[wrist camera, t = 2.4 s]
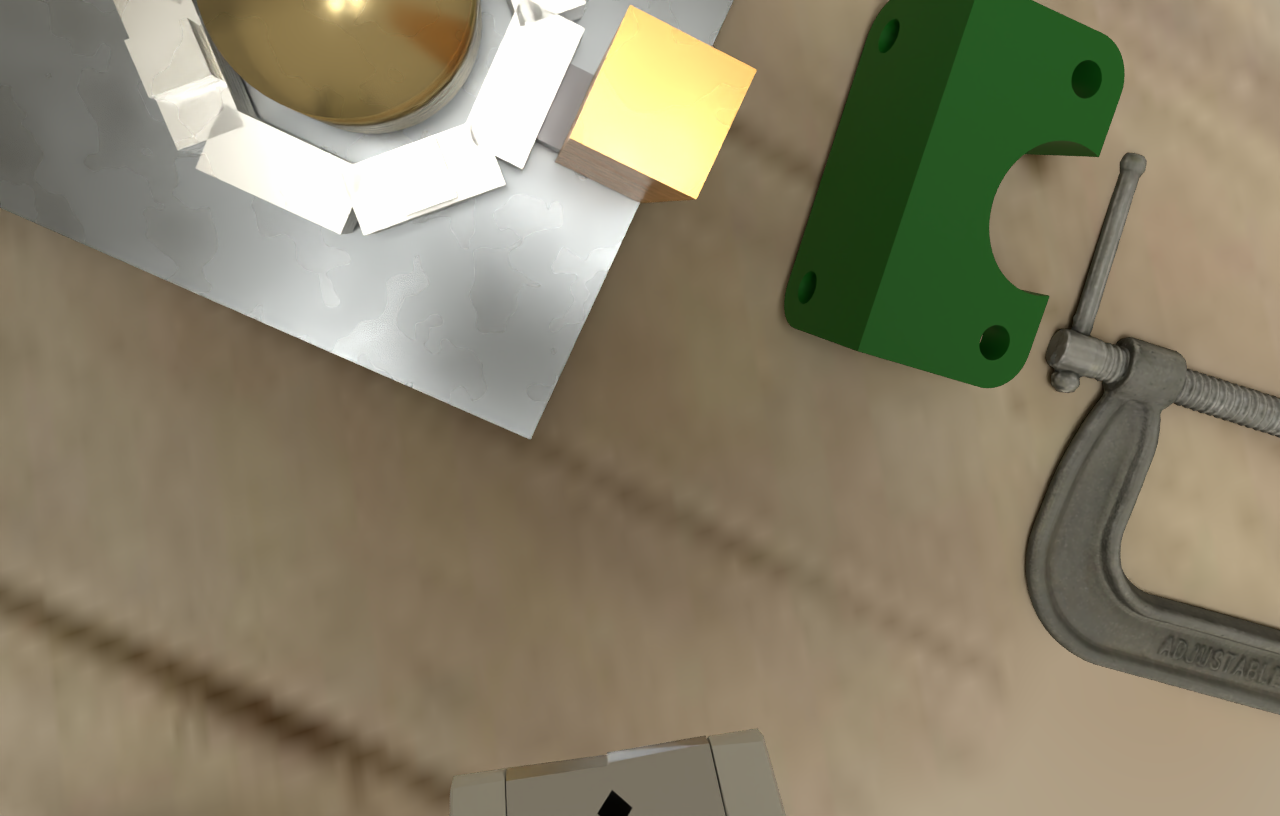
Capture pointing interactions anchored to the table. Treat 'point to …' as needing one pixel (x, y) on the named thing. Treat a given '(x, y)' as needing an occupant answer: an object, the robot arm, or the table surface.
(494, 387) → the base plate
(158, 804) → the table surface
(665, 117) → the ring of rectangular blocks
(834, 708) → the table surface
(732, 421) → the table surface
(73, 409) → the table surface
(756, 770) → the robot arm
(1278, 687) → the c clamp
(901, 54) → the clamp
